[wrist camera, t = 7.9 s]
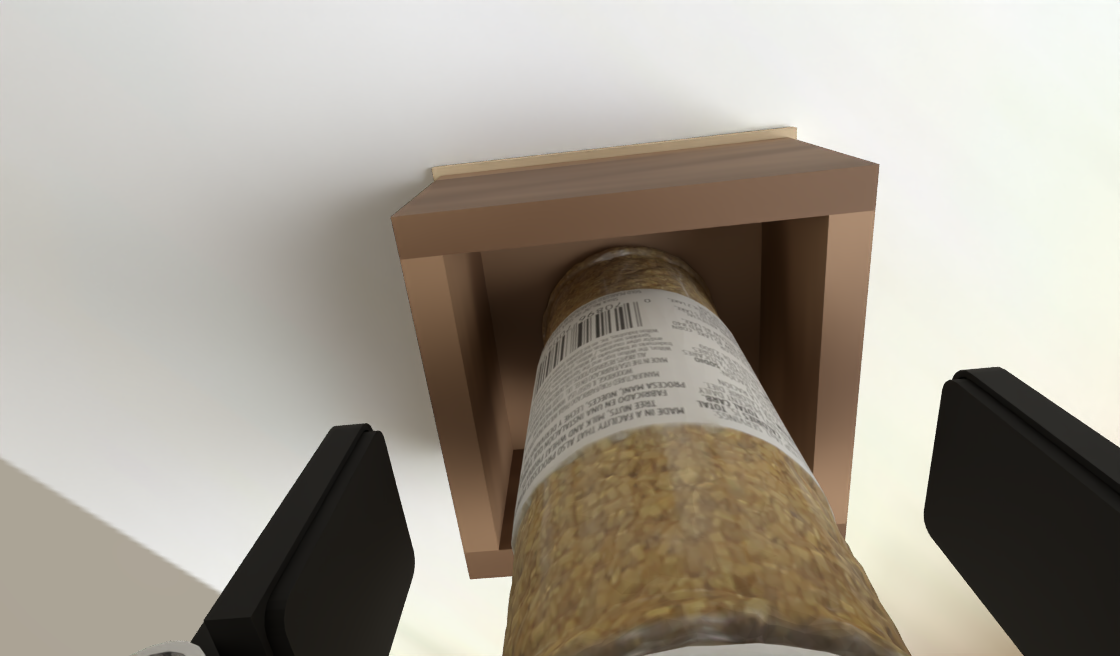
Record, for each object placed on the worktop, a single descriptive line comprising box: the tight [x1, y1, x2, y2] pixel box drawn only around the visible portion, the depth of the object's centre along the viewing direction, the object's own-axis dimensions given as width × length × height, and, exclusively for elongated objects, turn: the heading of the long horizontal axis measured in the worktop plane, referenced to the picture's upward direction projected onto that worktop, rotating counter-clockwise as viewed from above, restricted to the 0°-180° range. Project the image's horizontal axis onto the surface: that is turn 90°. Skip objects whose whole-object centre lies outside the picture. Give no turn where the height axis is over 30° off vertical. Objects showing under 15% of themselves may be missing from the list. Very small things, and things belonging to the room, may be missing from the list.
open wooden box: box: [391, 127, 879, 579], centre depth 15 cm, size 9×9×5 cm
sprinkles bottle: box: [502, 246, 911, 656], centre depth 10 cm, size 5×5×14 cm
